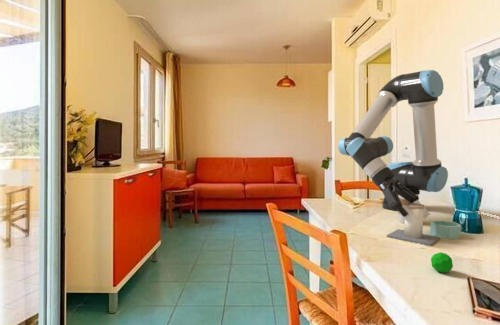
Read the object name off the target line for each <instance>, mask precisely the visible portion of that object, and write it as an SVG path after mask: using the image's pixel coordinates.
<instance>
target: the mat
mask: <svg viewBox="0 0 500 325" xmlns="http://www.w3.org/2000/svg"><path fill="white" fill-rule="evenodd" d="M386 238H391V239H394V238H395V240H401V241H404V242H409V241H410V242H409V243H413V242H415V244H418V243H420V245H423V244H424V245H423V246H428V247H432V246H433V245H434V244H435V243H437V242H439V240H441V238H440V237H437V236H434V235H432V234H424V233H422V238H409V237H406V236H404V229H400V228H399V229H396V230H394V231H392V232H390V233H388V234H386Z"/></svg>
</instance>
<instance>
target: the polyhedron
mask: <svg viewBox="0 0 500 325" xmlns="http://www.w3.org/2000/svg"><path fill="white" fill-rule="evenodd" d="M430 263H431V267H432V268H433V269H434V270H435V271H436V272H438V273H440V274H441V273H442V274H445V273H447V272H450V271H451V270H452V269H453V268H454V263H453V259H452V257H451V256H450V255H449V254H447V253H445V252H437V253H434V254H432V256H431V258H430Z"/></svg>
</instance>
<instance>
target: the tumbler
mask: <svg viewBox="0 0 500 325" xmlns="http://www.w3.org/2000/svg"><path fill="white" fill-rule="evenodd" d="M405 207H406V208H407V209H408V210H409V211H410V212H411V213H412V214H413V216H414V217H415V218H416V219H417V220H418V222H416V223H415V224H413V225H412V226H410V224H409V223H408V222H407V221H406V220H405V224H404V227H403V228H404V229H403V230H404V236H406V237H409V238H422V234H423V228H424V226H423V224H424V219H423V209H424V208H425V205H424V204H422V203H421V204H416V203H406V204H405Z"/></svg>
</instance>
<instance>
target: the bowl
mask: <svg viewBox="0 0 500 325" xmlns="http://www.w3.org/2000/svg"><path fill="white" fill-rule="evenodd" d="M429 232H430V235H431V236H437V237H440V239H441V238H442V239H446V240H447V239H448V240H457V239H461V235H462V224H461V223H460V224H459V223H457V222H456V221H448V220H440V219H439V220H436V219H435V220H432V221H431V222H430V231H429Z"/></svg>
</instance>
